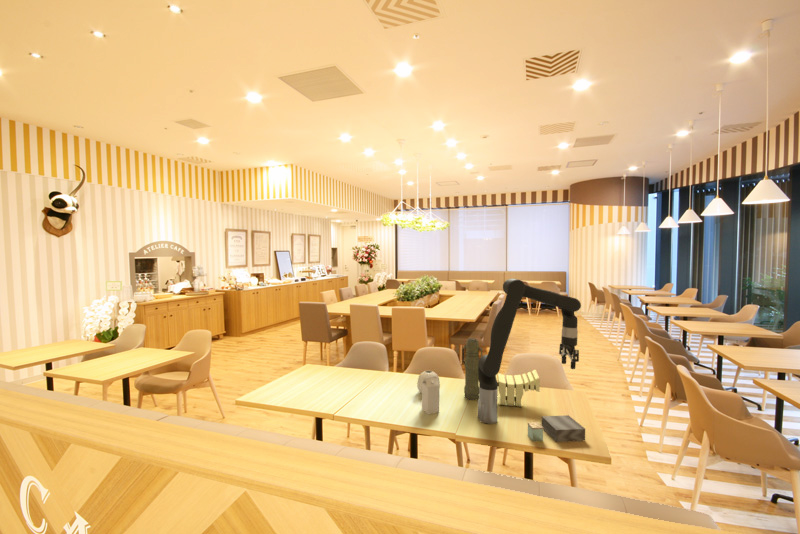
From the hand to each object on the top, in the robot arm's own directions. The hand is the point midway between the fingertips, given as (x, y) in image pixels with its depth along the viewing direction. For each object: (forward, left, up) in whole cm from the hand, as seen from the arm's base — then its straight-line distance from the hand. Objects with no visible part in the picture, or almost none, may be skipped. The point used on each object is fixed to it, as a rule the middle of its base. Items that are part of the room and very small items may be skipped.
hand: (568, 366), depth 190 cm
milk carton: (-70, +14, -28) cm, 77 cm away
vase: (-67, +39, -28) cm, 83 cm away
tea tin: (-26, -19, -28) cm, 42 cm away
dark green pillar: (-42, +31, -28) cm, 60 cm away
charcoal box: (-11, -16, -28) cm, 34 cm away
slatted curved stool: (-22, +22, -28) cm, 42 cm away
